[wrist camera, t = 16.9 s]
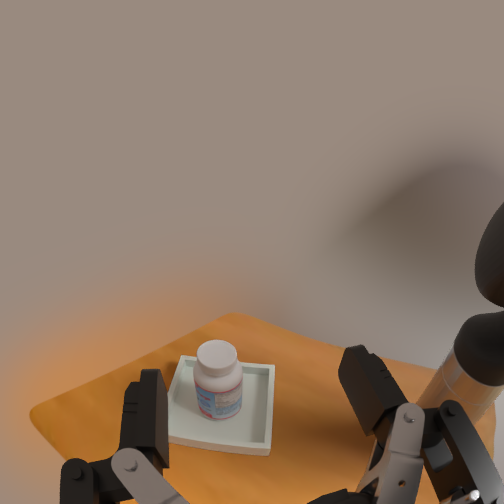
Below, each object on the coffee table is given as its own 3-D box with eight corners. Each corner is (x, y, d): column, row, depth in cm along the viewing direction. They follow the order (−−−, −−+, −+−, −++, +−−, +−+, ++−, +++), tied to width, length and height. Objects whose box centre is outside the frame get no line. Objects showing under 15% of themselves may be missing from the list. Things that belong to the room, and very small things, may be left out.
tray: (273, 375, 44) (275, 365, 42) (268, 456, 30) (270, 448, 29) (183, 365, 44) (181, 354, 43) (158, 439, 31) (154, 431, 30)
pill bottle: (193, 395, 38) (184, 341, 33) (232, 384, 41) (231, 330, 36) (206, 427, 33) (198, 378, 28) (249, 415, 36) (251, 363, 31)
